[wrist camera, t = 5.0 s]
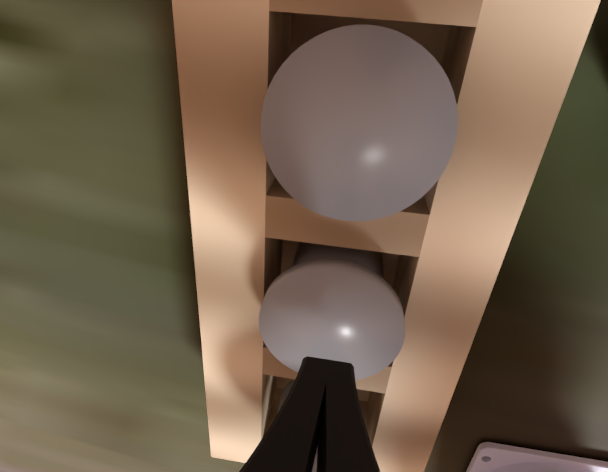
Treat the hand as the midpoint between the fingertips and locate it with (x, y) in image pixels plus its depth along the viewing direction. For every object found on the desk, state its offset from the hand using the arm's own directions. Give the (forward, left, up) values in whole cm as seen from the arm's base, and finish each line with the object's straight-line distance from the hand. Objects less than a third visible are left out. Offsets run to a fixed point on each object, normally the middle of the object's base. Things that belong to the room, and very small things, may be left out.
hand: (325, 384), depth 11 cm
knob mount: (0, 0, -7) cm, 7 cm away
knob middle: (0, 0, -7) cm, 7 cm away
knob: (+7, 0, -7) cm, 9 cm away
